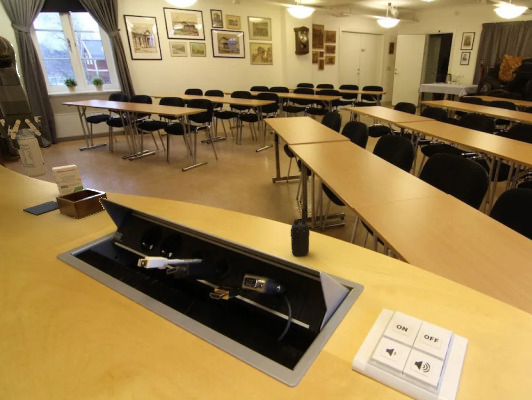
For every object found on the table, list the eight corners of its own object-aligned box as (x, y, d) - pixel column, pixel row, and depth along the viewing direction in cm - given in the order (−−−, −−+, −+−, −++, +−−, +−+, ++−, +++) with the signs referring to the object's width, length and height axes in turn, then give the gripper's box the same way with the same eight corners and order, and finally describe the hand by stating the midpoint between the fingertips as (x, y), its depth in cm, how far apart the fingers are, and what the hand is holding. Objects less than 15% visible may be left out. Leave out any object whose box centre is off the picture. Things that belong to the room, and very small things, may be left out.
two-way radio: (308, 250, 98) (308, 205, 92) (310, 258, 94) (310, 211, 88) (290, 251, 97) (289, 206, 91) (291, 259, 93) (290, 212, 87)
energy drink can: (51, 174, 122) (39, 134, 116) (34, 178, 116) (20, 137, 111) (41, 172, 123) (28, 133, 118) (23, 176, 118) (9, 135, 113)
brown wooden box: (78, 219, 117) (73, 203, 114) (60, 213, 121) (55, 197, 119) (109, 207, 126) (105, 192, 124) (92, 202, 131) (88, 188, 129)
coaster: (36, 215, 119) (36, 214, 119) (23, 210, 123) (22, 209, 123) (66, 206, 127) (66, 205, 127) (52, 201, 131) (52, 200, 131)
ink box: (82, 188, 146) (75, 163, 142) (84, 191, 143) (77, 166, 138) (59, 193, 141) (51, 167, 136) (60, 196, 137) (52, 169, 133)
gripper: (32, 97, 117) (45, 143, 123) (-21, 100, 105) (-2, 150, 111) (43, 98, 114) (56, 145, 120) (-10, 101, 102) (8, 152, 108)
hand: (28, 147), depth 116 cm, fingers closed on energy drink can, 6 cm apart
